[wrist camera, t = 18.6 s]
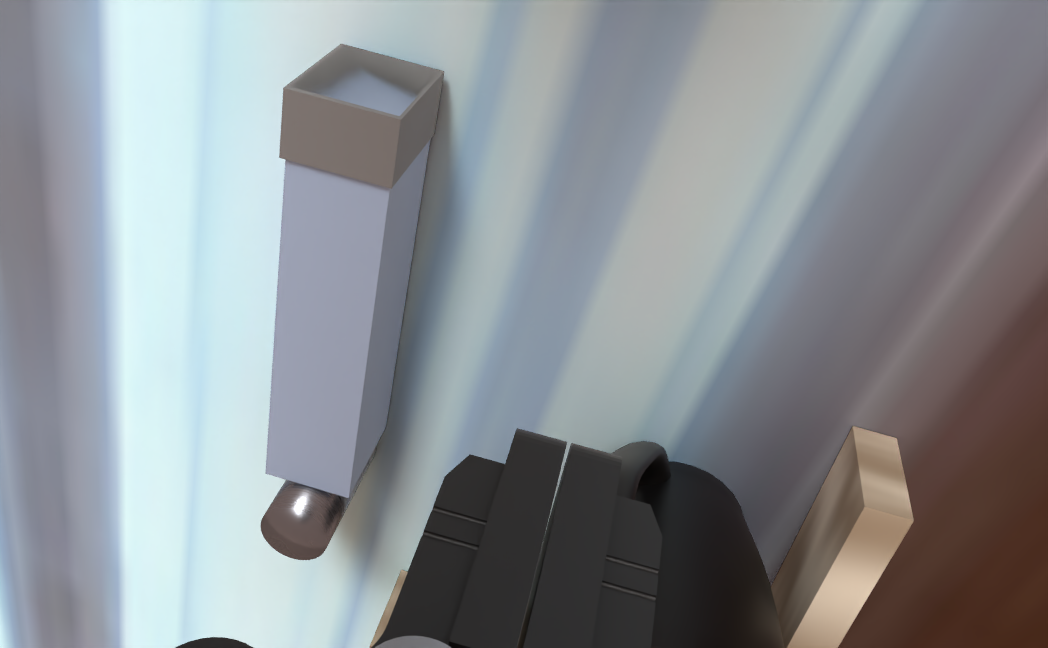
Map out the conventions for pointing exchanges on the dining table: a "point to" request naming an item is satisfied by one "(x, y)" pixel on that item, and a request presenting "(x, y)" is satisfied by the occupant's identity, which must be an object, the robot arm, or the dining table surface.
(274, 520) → the hinge post
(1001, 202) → the dining table surface
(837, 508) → the seat frame
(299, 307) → the leg
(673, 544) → the mug
